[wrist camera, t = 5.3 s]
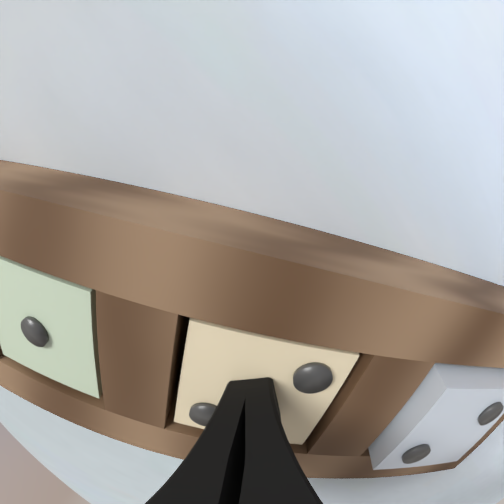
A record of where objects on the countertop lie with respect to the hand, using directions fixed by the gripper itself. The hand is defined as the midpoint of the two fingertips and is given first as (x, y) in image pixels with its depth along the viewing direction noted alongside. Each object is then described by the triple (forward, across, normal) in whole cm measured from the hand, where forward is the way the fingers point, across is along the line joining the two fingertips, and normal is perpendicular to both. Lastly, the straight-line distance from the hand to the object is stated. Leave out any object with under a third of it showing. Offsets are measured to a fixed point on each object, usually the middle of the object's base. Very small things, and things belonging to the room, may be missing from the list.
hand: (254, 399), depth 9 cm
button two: (+2, -7, +3) cm, 8 cm away
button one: (+3, +7, -3) cm, 8 cm away
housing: (+3, 0, 0) cm, 3 cm away
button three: (+3, 0, 0) cm, 3 cm away
